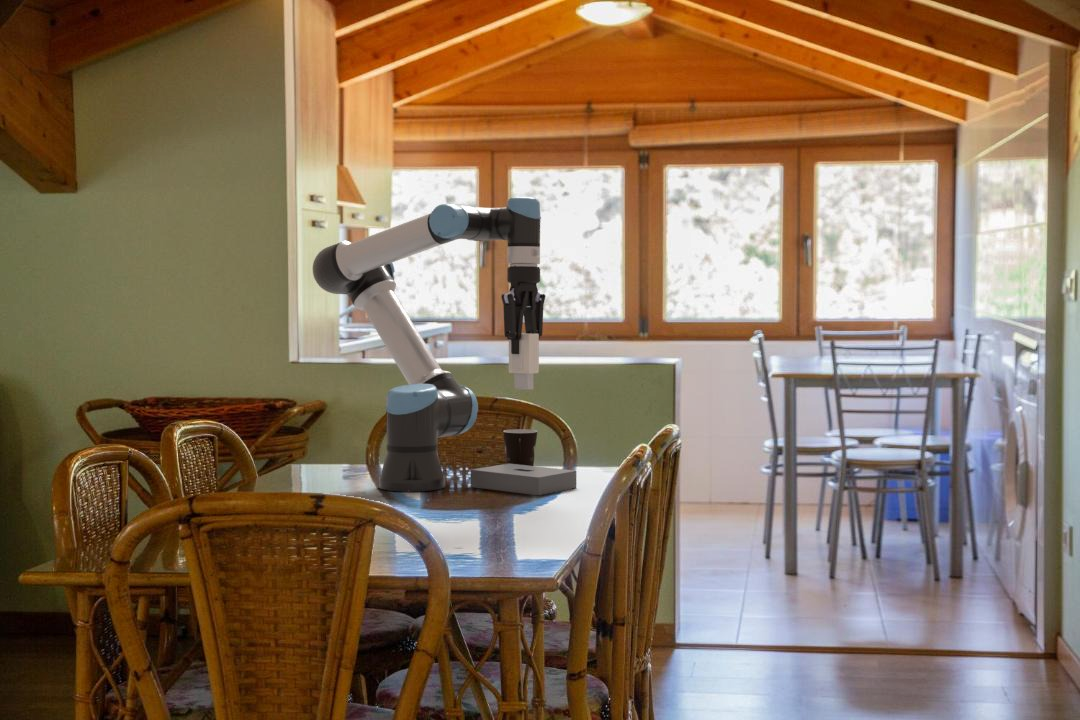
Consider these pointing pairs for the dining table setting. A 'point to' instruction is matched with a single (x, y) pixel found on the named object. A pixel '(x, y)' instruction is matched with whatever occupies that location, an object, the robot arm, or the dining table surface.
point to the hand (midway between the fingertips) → (523, 368)
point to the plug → (526, 362)
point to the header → (523, 479)
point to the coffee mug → (520, 446)
